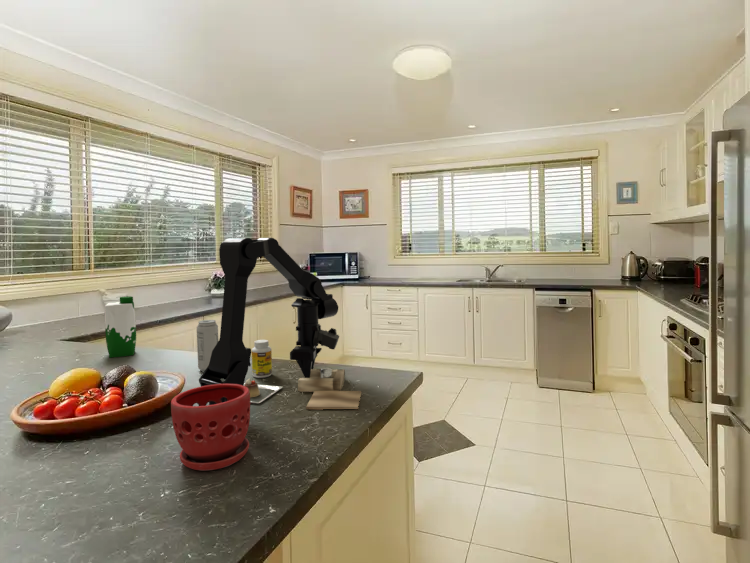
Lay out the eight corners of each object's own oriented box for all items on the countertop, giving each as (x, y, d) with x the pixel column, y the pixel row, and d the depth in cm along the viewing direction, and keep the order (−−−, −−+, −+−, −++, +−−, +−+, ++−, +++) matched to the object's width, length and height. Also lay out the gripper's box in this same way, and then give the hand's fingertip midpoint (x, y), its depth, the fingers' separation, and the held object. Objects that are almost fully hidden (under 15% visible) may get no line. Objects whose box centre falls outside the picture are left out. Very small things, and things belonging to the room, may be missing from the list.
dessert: (283, 390, 114) (283, 373, 113) (259, 407, 102) (259, 387, 102) (243, 386, 117) (243, 369, 117) (216, 402, 106) (215, 383, 105)
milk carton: (136, 355, 148) (133, 298, 146) (105, 358, 144) (101, 299, 142) (138, 350, 156) (135, 295, 154) (108, 352, 152) (105, 296, 150)
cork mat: (357, 409, 99) (357, 407, 99) (306, 409, 100) (306, 406, 100) (361, 393, 110) (361, 391, 110) (314, 392, 110) (314, 390, 110)
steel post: (330, 387, 115) (330, 370, 114) (319, 387, 115) (319, 370, 115) (332, 383, 118) (332, 367, 117) (321, 383, 118) (321, 367, 118)
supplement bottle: (255, 379, 121) (254, 344, 120) (249, 374, 126) (248, 340, 125) (274, 376, 124) (274, 341, 124) (268, 371, 129) (267, 338, 128)
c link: (344, 379, 121) (344, 369, 121) (340, 392, 111) (340, 380, 111) (306, 379, 122) (305, 369, 121) (298, 391, 112) (298, 380, 111)
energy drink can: (219, 371, 129) (218, 322, 128) (198, 373, 127) (196, 323, 126) (219, 366, 135) (217, 319, 134) (198, 368, 133) (196, 320, 131)
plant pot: (259, 440, 84) (257, 380, 83) (240, 476, 71) (238, 406, 70) (191, 441, 84) (188, 381, 82) (160, 478, 70) (156, 407, 69)
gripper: (332, 328, 110) (332, 388, 111) (340, 316, 128) (341, 367, 129) (288, 328, 110) (290, 387, 111) (303, 316, 129) (304, 367, 130)
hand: (308, 376), depth 121 cm, fingers open, 3 cm apart
